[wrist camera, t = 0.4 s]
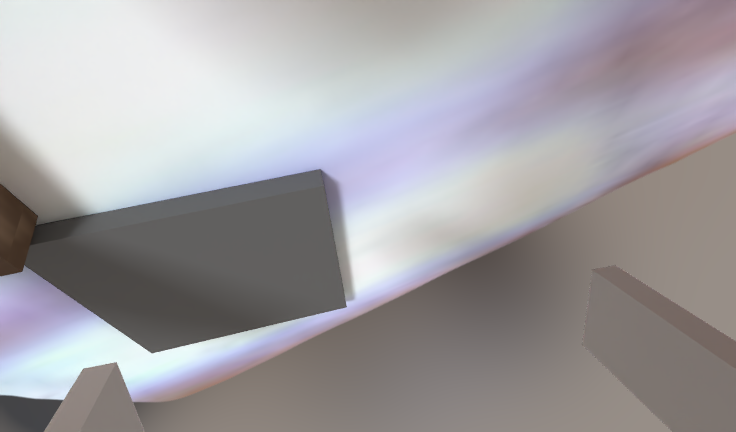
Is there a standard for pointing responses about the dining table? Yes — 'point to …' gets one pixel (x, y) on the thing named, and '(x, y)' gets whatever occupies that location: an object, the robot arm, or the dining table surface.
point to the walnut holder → (14, 232)
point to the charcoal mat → (199, 261)
